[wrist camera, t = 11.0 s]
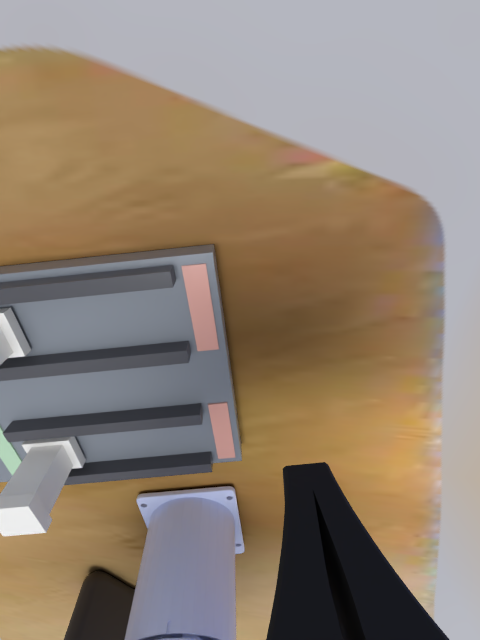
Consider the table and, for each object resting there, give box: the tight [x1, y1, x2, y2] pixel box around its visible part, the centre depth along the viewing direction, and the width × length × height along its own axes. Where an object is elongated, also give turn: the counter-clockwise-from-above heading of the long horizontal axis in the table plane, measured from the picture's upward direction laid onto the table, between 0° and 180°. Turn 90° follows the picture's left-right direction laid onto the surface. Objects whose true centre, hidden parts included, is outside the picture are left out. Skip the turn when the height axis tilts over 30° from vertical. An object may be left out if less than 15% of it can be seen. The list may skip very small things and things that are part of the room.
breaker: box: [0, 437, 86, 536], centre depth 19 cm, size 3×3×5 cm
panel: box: [0, 244, 242, 485], centre depth 19 cm, size 15×18×2 cm
